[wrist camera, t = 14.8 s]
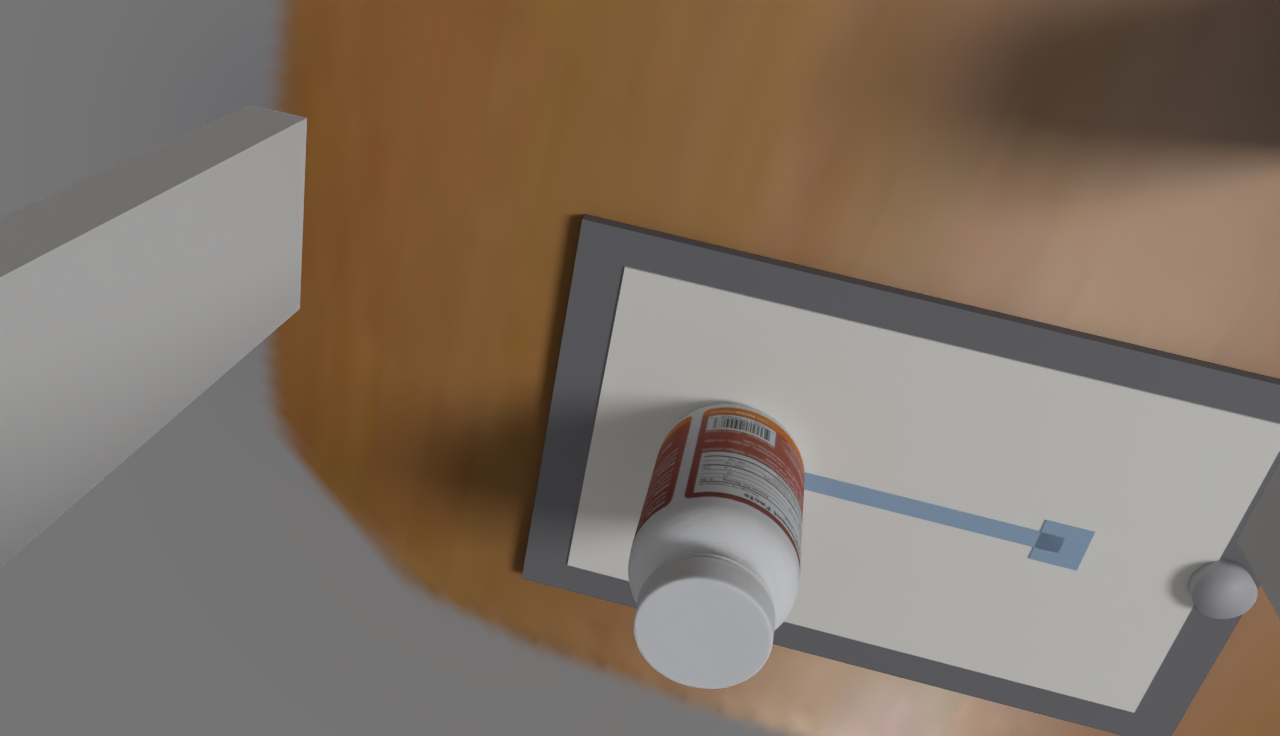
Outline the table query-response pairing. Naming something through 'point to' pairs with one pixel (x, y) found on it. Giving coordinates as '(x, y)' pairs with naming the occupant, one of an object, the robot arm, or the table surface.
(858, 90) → the table surface
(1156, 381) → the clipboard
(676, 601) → the pill bottle
